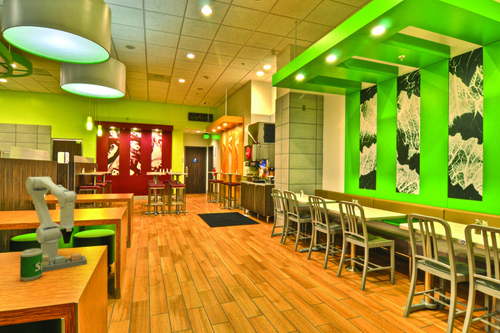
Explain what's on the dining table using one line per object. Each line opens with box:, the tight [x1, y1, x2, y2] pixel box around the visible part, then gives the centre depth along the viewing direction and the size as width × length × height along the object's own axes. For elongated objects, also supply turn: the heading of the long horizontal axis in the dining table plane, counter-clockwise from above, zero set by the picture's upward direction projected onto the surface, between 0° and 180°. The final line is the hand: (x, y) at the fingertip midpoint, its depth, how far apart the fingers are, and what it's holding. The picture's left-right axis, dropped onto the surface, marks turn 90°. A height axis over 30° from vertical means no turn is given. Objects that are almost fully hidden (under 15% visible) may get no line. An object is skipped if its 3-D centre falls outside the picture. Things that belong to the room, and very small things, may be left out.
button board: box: [42, 255, 88, 273], centre depth 133 cm, size 8×21×2 cm, turn 130°
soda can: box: [19, 247, 43, 282], centre depth 119 cm, size 8×8×12 cm
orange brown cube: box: [70, 252, 82, 262], centre depth 137 cm, size 4×4×4 cm
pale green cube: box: [54, 254, 67, 264], centre depth 133 cm, size 4×4×4 cm
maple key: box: [43, 255, 49, 266], centre depth 129 cm, size 4×4×4 cm
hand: (66, 243), depth 137 cm, fingers closed
